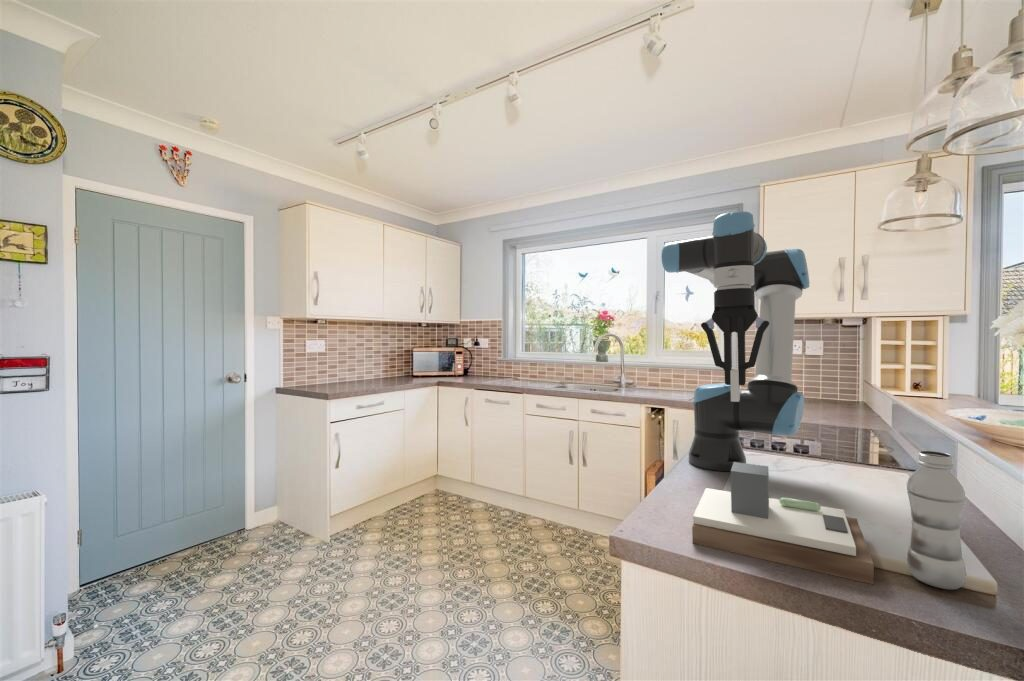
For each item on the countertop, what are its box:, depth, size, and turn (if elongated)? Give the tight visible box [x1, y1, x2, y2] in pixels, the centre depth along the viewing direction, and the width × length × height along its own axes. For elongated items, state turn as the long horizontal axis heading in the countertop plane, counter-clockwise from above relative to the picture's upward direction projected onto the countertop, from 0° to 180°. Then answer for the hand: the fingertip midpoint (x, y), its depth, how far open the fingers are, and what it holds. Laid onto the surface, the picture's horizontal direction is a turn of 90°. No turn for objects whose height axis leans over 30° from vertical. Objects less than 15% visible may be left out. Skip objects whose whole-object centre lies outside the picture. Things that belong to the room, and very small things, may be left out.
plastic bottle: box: [906, 450, 967, 591], centre depth 65 cm, size 6×7×20 cm
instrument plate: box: [692, 462, 856, 556], centre depth 80 cm, size 16×24×9 cm, turn 58°
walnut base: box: [691, 516, 875, 585], centre depth 80 cm, size 18×26×3 cm
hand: (735, 400), depth 90 cm, fingers closed
